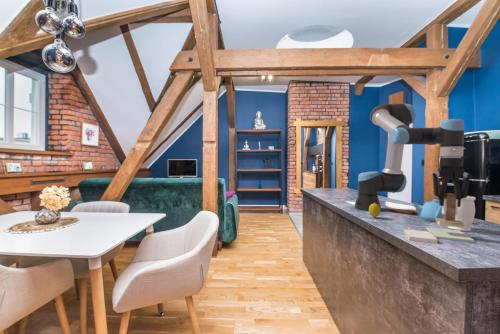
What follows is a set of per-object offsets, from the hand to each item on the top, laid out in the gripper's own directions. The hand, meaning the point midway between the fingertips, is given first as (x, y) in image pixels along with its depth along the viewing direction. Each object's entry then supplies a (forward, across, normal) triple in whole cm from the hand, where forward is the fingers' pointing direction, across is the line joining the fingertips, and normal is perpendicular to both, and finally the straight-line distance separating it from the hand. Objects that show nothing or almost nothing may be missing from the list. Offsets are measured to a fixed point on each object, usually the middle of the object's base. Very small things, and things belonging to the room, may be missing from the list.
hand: (449, 214), depth 103 cm
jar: (+9, +8, +14) cm, 19 cm away
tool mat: (+9, 0, 0) cm, 9 cm away
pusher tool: (+5, 0, 0) cm, 5 cm away
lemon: (+9, -26, +22) cm, 35 cm away
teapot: (+9, +3, +30) cm, 32 cm away
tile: (+8, -12, -3) cm, 15 cm away
